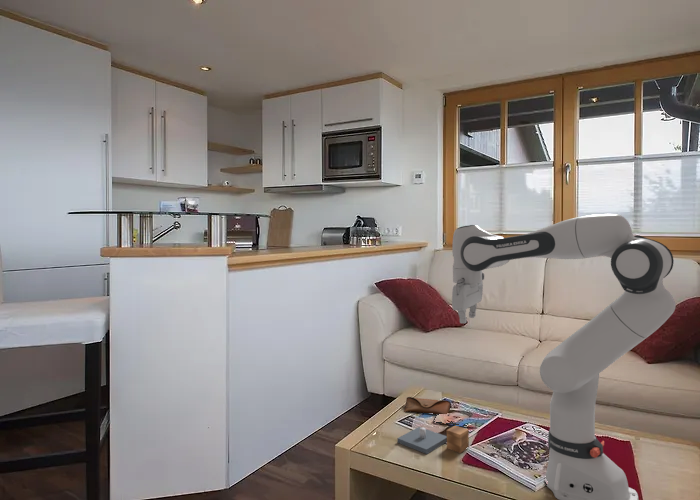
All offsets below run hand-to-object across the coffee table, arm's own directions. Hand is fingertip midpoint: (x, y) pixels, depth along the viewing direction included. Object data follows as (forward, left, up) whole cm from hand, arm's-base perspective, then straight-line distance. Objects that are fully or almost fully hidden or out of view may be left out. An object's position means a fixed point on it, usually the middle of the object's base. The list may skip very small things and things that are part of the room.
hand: (467, 320), depth 150 cm
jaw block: (+3, +2, -42) cm, 42 cm away
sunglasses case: (+29, -17, -42) cm, 54 cm away
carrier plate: (+14, +6, -42) cm, 45 cm away
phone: (+15, -15, -42) cm, 48 cm away
